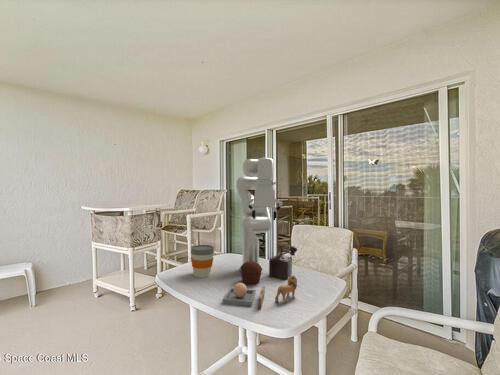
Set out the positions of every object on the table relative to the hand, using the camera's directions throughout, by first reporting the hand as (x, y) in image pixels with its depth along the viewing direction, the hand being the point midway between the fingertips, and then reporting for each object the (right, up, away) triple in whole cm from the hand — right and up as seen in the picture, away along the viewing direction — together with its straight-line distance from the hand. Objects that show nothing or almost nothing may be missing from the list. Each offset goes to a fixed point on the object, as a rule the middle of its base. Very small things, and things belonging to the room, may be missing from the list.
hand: (264, 219), depth 116 cm
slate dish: (-11, -33, -11) cm, 36 cm away
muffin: (-6, -34, +9) cm, 35 cm away
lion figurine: (+9, -34, -10) cm, 36 cm away
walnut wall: (-2, -33, -13) cm, 36 cm away
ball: (-11, -32, -11) cm, 36 cm away
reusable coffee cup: (-33, -33, +17) cm, 50 cm away
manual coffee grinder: (+12, -34, +18) cm, 40 cm away
